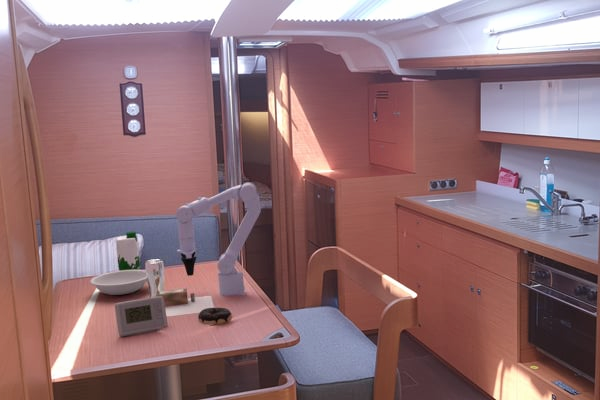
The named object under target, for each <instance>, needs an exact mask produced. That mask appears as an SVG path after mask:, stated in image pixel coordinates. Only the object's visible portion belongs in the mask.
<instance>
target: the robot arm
mask: <svg viewBox="0 0 600 400" xmlns="http://www.w3.org/2000/svg"><path fill="white" fill-rule="evenodd" d="M231 199H232V200H236V201H237V200H242V202H244V205H245V208H246V210H247V211H246V213H245V215H244V217H243V218H242V220H241V223H240V224H239V227H238V228H237V230H236V231H235V234H234V236H233V238H232V240H231V242H230V243H229V245H228V247H227V249H226V250H225V252H224V253H222V254H221V255H220V257H219V260H218V263H217V268H218V271H217V275H218V289H219V295H221V296H223V297H224V296H225V297H226V296H227V297H228V296H235V295H240V296H243V297H244V296H245V289H246V288H245V285H244V282H245V281H244V275H243V271H242V270H241V271H240V270H239V271H238V269H237V268H235V265H236V261H237V258H238V256H239V254H240V252H241V250H242V249H243V246H244V244H245V242H246V241H247V239H248V237H249V235H250V233H251V232H252V229H253V227H254V225H255V223H256V221H257V220H258V218H259V216H260V214H261V209H262V208H261V202H260V192H259V190H258V188H257V186H256V185H255V184H254V183H253V182H244V183H243V184H238V185H236V186H235V185H234V186H233V187H230V188H228V189H226V190H223V191H221V192H219V193H218V194H216V195H214V196H211V197H210V198H209V197H205V196H204V197H201V196H199V197H197V200H194V201H192V202H190V203H189V202H186V203H185V205H182V206H180V207H179V208H178V209H177V210H176V212H175V213H176V214H175V217H176V219H177V225H178V226H177V229H178V241H179V249H177V250H176V252H177V253H180V256H181V258H180V260H181V262H182V263H183V265H184V268H185V271H186V274H187V276H188V277H190V276H194V272H195V263H196V260H197V258H198V257H197V256H195V255H196V251H197V247H196V241H195V228H194V223H193V218H198V217H200V216H202V215H204V214H206V213H209V212H211V211H212V209H213V206H217V205H219V204H222V203H224V202H226V201H229V200H231Z"/></svg>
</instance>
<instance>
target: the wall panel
mask: <svg viewBox="0 0 600 400" xmlns="http://www.w3.org/2000/svg"><path fill="white" fill-rule="evenodd" d="M189 294H190V297H188V304H183V305H175V306H166V307H165V310H166V317H169V318H170V317H174V316H175V317H178V316H184V315H194V314H199V313H200V312H201V311H202V310H203V309H206V308H215V306H214V301H213V298H212V295H204V296H195V292H191V293H189Z"/></svg>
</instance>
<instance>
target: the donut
mask: <svg viewBox="0 0 600 400" xmlns="http://www.w3.org/2000/svg"><path fill="white" fill-rule="evenodd" d="M232 315H233V313H232V312H231V311H230V309H228V308H227V307H214V308H206V309H203V310H202V311H201V312H200V313H198V316H197V317H198V321H199V322H200V323H202V324H205V325H208V324H210V325H209V327H213V326H215V327H217V326H222V325H225V324H228V323H229V322H230V321H231V320H232Z"/></svg>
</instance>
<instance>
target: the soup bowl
mask: <svg viewBox="0 0 600 400" xmlns="http://www.w3.org/2000/svg"><path fill="white" fill-rule="evenodd" d="M89 282H90V285H93V286H95V287H96V289H97V290H98V291H99V292H101V293H103V294H105V295H111V296H120V295H128V294H131V293H134V292H137V291H138V290H139V291H140V289H142V288H143V287H144V285H145V284H146V283H147V278H146V270H145V269H140V270H121V271H119V270H114V271H111V272H106V273H101V274H99V275H96V276H94V277H93V278H92V277H91V279H90V280H89Z"/></svg>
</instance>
